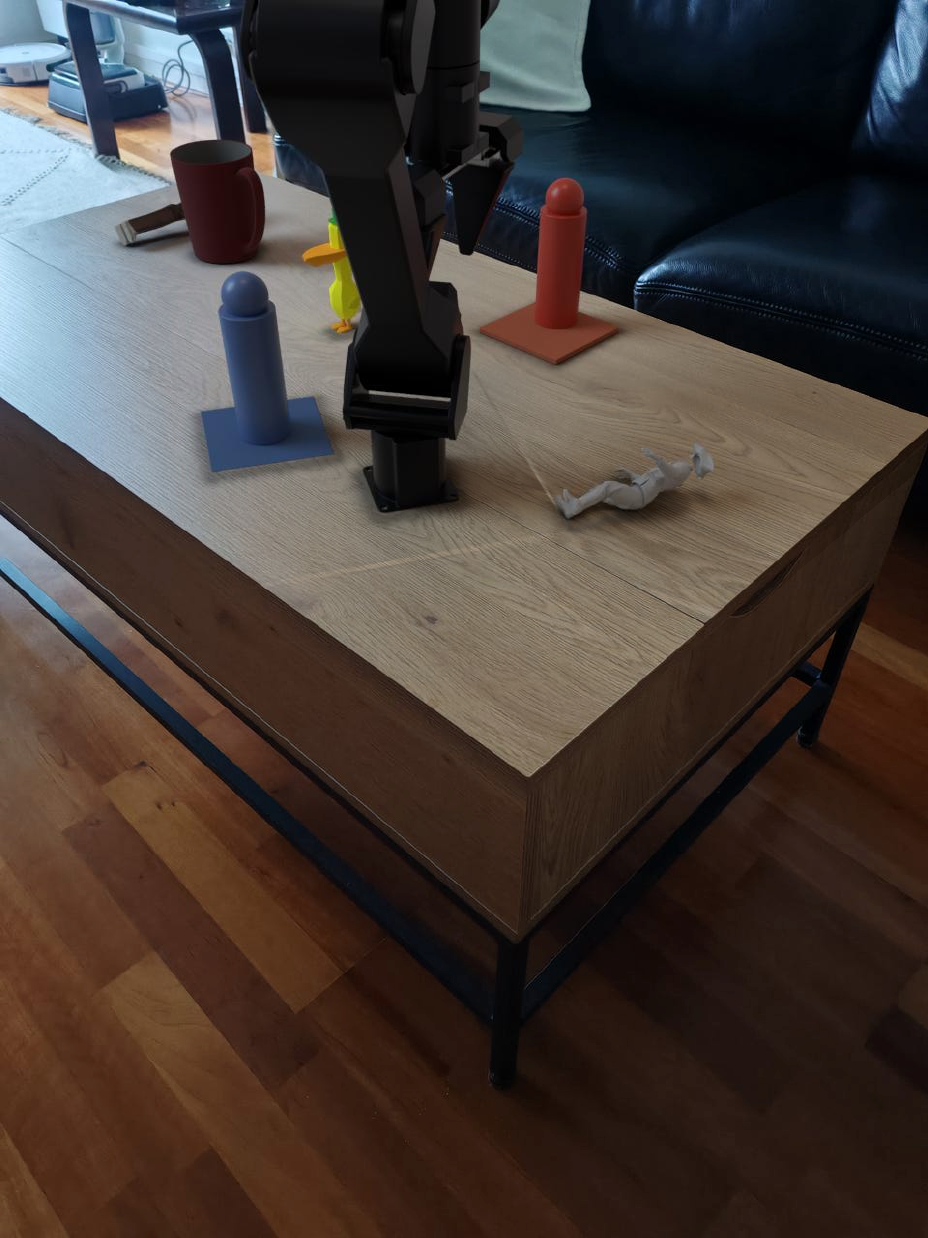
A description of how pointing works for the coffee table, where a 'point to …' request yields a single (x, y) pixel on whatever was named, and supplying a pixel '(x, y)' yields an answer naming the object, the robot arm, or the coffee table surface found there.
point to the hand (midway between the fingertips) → (442, 274)
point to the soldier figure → (639, 484)
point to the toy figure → (337, 276)
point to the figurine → (149, 222)
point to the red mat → (548, 334)
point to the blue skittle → (254, 359)
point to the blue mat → (237, 453)
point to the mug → (220, 199)
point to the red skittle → (560, 255)
